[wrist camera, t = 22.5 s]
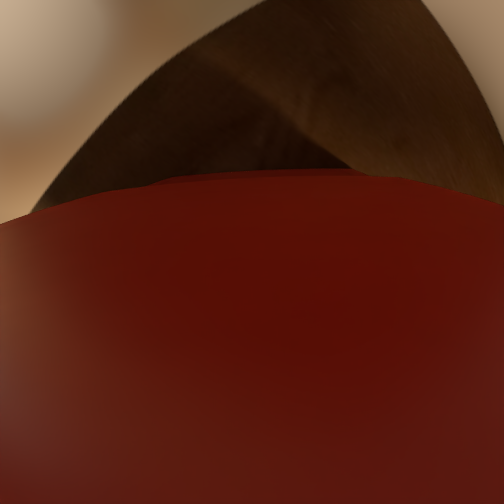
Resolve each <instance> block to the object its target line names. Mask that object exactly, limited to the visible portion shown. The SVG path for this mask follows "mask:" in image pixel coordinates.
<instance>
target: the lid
mask: <svg viewBox="0 0 504 504" xmlns="http://www.w3.org/2000/svg"><path fill="white" fill-rule="evenodd" d="M0 504H504V206H503V205H500V204H497V203H494V202H491V201H488V200H485V199H481V198H478V197H475V196H471V195H468V194H464V193H461V192H457V191H454V190H450V189H446V188H442V187H438V186H435V185H431V184H426V183H422V182H418V181H414V180H409V179H405V178H400V177H378V176H282V177H257V178H238V179H222V180H208V181H196V182H184V183H174V184H164V185H155V186H146V187H138V188H130V189H122V190H115V191H108V192H102V193H98V194H94V195H90V196H87V197H83V198H80V199H76V200H73V201H69V202H66V203H62V204H59V205H56V206H52V207H49V208H46V209H43V210H40V211H37V212H34V213H31V214H28V215H25V216H22V217H19V218H16V219H14V220H10V221H8V222H5V223H2V224H0Z"/></svg>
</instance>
